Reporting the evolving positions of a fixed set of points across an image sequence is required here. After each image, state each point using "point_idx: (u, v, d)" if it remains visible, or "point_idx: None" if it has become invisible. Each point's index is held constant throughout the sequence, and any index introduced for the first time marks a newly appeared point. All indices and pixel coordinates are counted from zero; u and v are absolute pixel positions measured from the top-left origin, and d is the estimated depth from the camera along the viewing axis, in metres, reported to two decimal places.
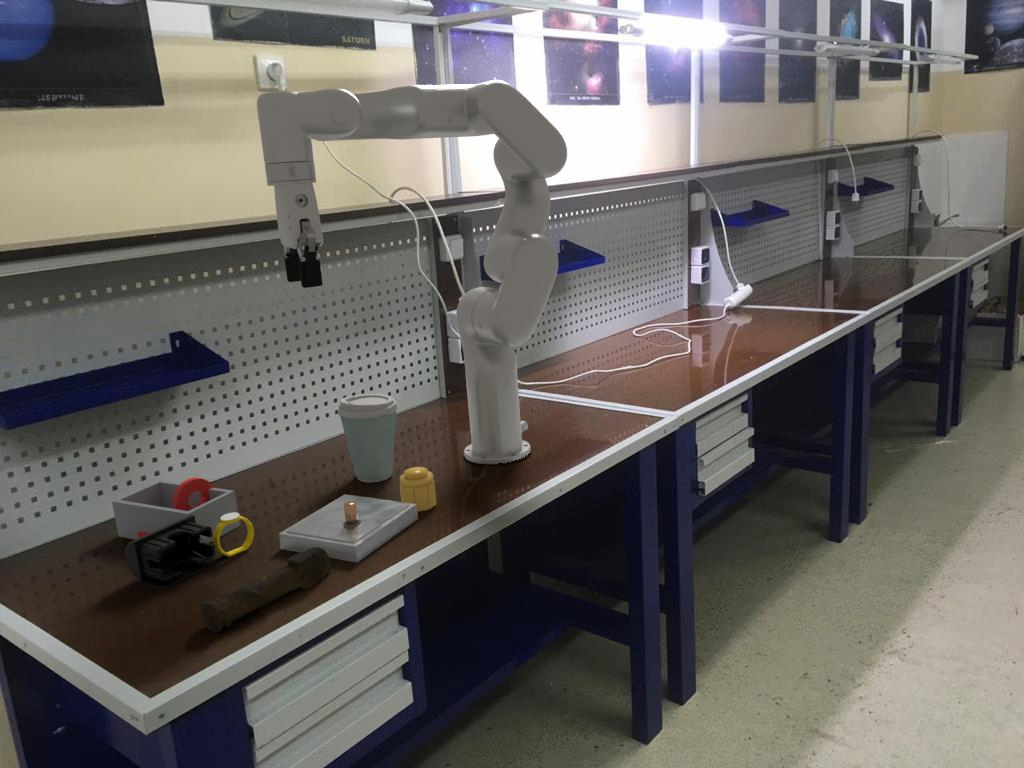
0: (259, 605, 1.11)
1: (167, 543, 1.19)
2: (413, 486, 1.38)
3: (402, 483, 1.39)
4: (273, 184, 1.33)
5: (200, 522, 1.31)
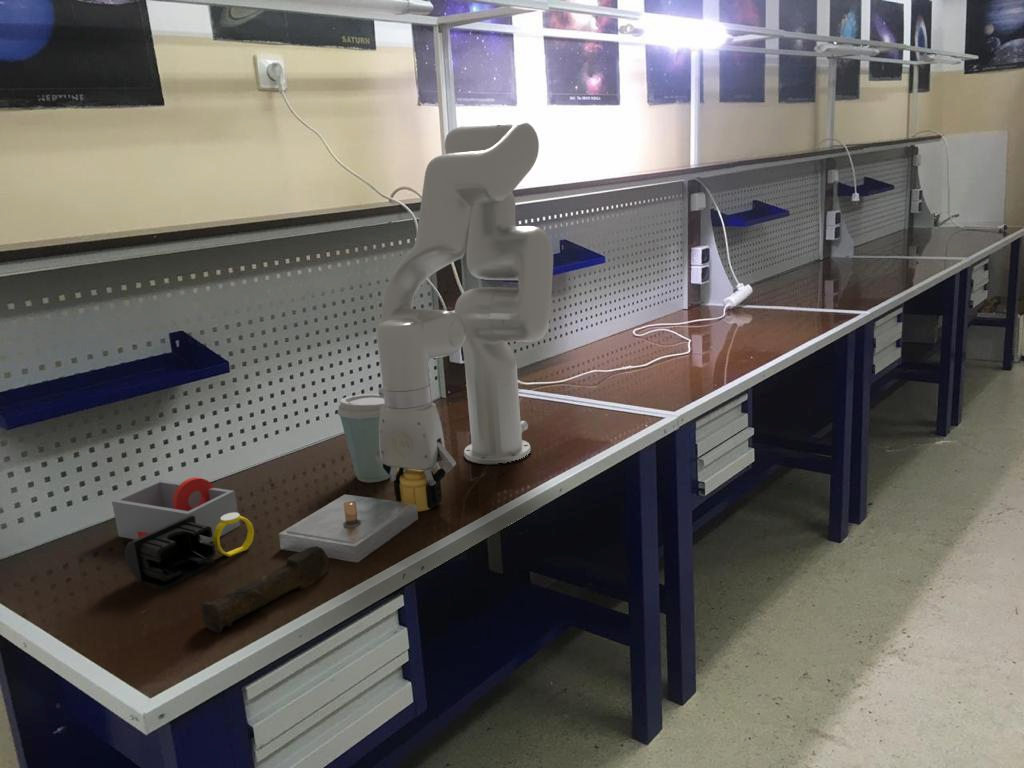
0: (259, 605, 1.11)
1: (167, 543, 1.19)
2: (413, 486, 1.38)
3: (402, 483, 1.39)
4: None
5: (200, 522, 1.31)
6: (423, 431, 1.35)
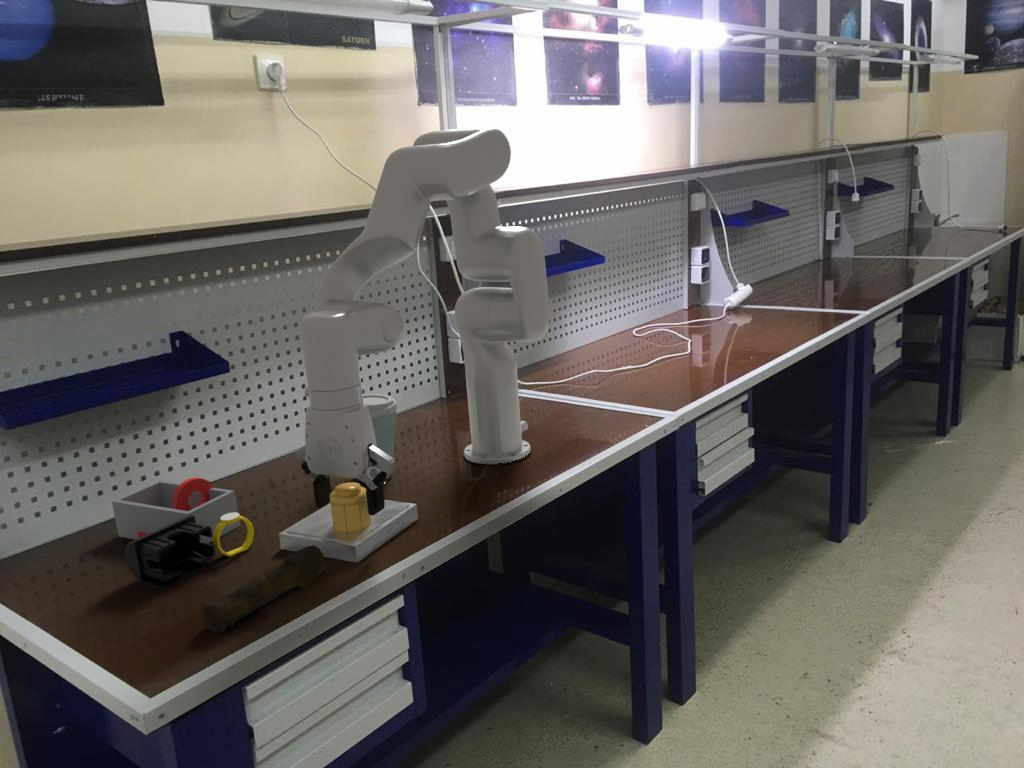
0: (260, 604, 1.11)
1: (167, 543, 1.19)
2: (343, 504, 1.26)
3: (332, 501, 1.27)
4: None
5: (200, 522, 1.31)
6: (351, 435, 1.22)
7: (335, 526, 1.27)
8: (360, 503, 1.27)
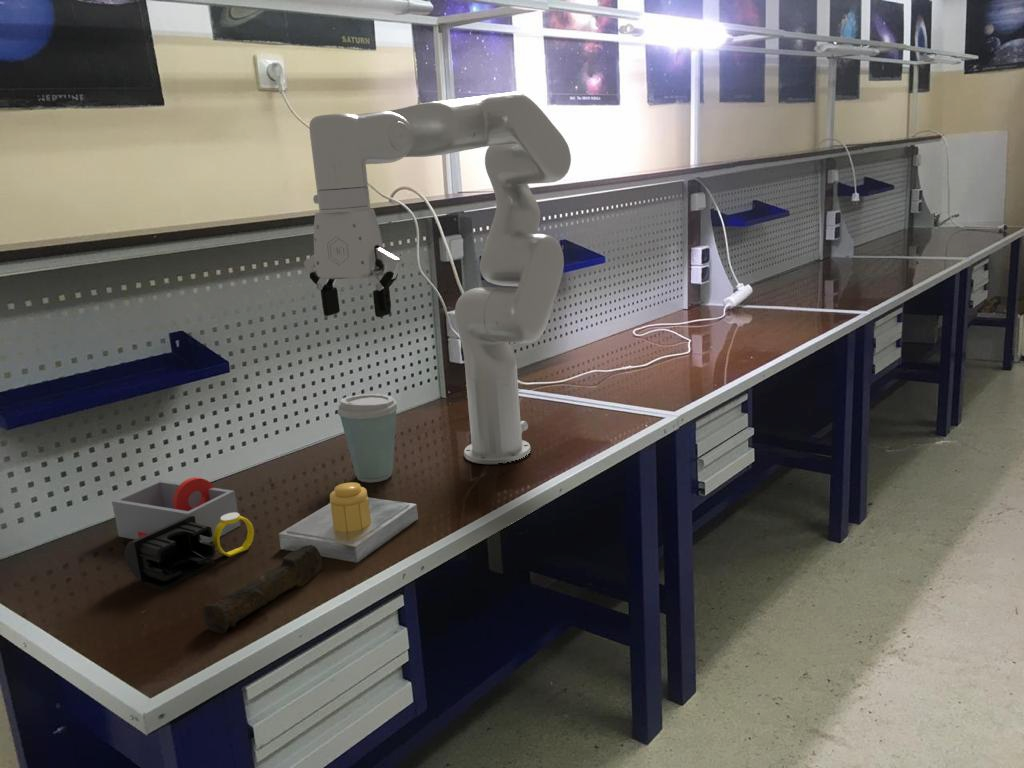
0: (260, 604, 1.11)
1: (167, 543, 1.19)
2: (343, 504, 1.26)
3: (332, 501, 1.27)
4: None
5: (200, 522, 1.31)
6: (359, 234, 1.26)
7: (335, 526, 1.27)
8: (360, 503, 1.27)
